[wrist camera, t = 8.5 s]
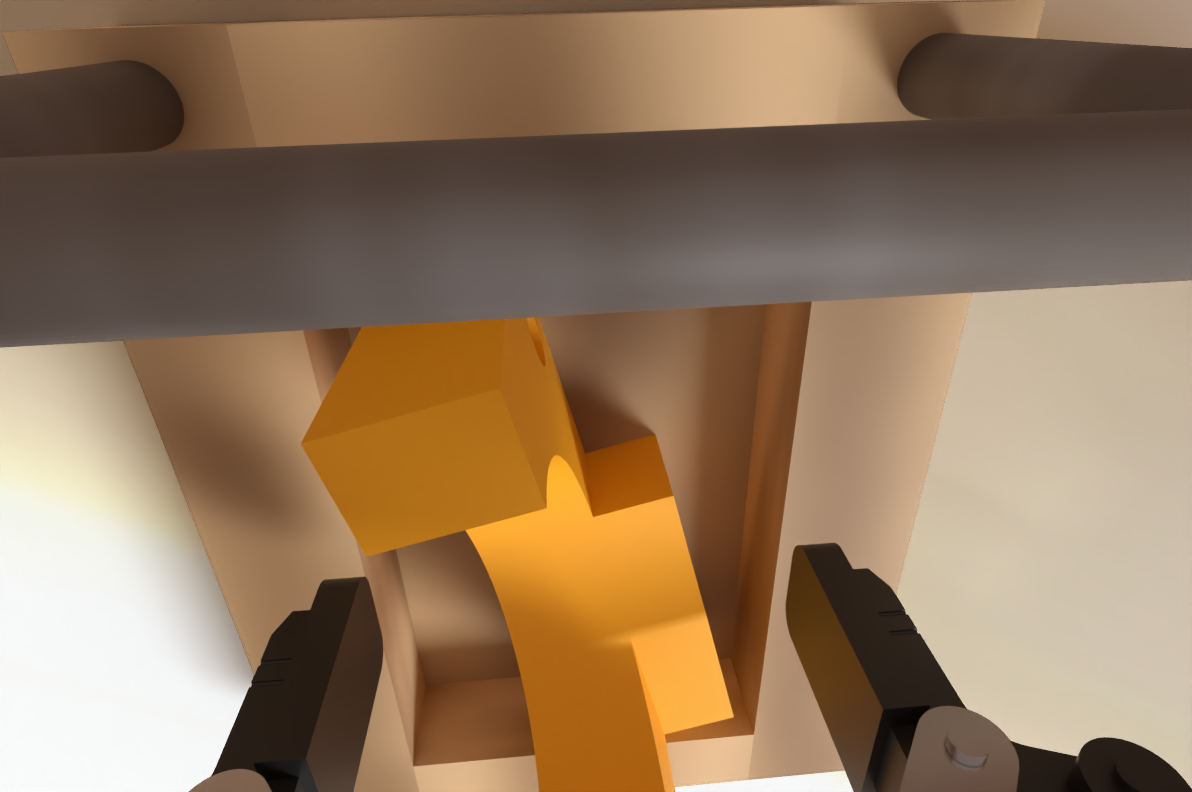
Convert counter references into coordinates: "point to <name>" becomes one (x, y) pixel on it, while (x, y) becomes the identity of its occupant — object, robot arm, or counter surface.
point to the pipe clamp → (532, 536)
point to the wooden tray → (578, 285)
